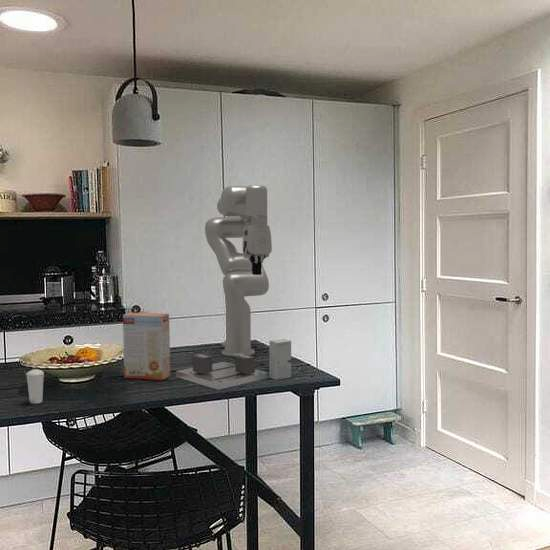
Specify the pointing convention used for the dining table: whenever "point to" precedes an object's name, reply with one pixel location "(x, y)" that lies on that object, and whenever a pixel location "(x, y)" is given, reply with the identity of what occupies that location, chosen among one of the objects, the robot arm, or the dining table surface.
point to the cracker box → (146, 346)
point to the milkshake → (35, 385)
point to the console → (221, 376)
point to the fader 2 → (245, 364)
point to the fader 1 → (202, 363)
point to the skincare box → (280, 359)
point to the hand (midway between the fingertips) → (256, 274)
